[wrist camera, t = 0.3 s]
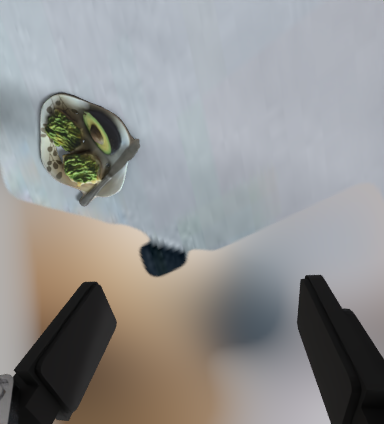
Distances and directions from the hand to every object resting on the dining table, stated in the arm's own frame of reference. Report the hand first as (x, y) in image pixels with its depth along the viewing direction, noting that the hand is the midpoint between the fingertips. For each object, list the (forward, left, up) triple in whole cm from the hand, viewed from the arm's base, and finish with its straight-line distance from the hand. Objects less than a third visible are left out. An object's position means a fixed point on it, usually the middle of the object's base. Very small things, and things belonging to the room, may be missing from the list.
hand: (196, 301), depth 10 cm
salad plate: (-4, -23, -31) cm, 39 cm away
